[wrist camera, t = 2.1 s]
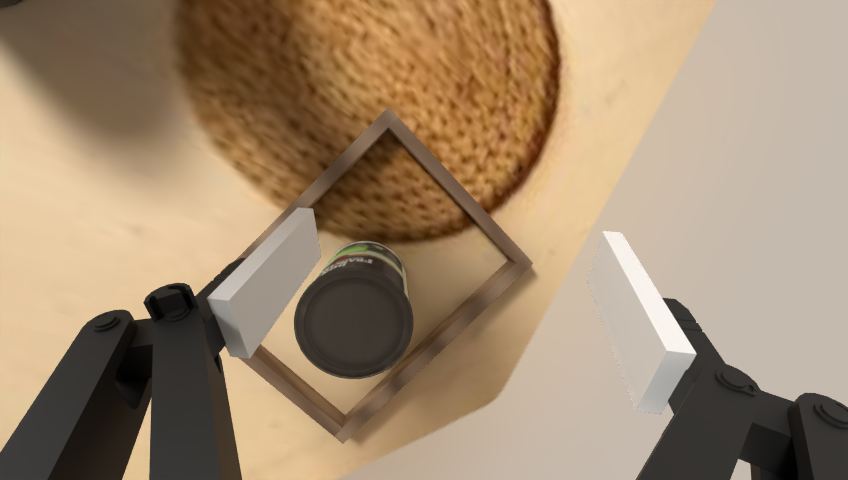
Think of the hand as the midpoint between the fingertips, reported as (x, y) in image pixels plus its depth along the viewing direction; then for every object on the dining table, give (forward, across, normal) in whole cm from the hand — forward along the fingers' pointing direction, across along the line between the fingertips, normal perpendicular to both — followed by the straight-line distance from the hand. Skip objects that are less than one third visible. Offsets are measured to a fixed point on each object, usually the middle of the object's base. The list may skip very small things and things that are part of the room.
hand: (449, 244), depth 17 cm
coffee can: (+20, -12, -19) cm, 30 cm away
